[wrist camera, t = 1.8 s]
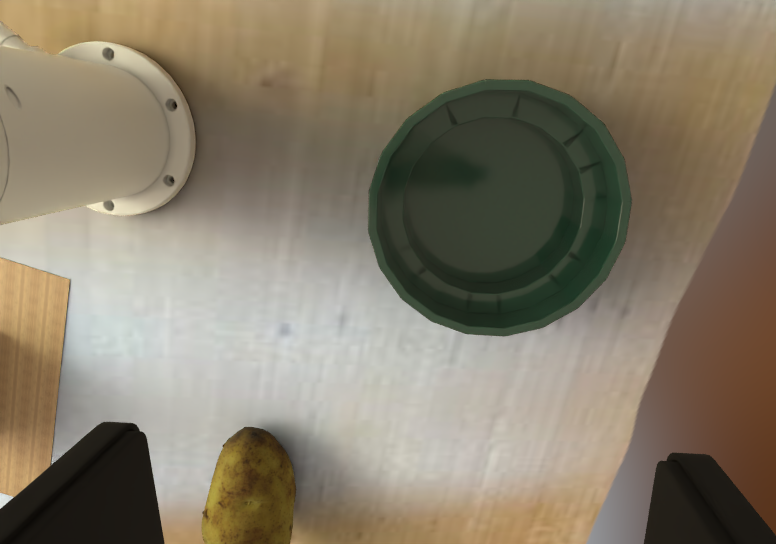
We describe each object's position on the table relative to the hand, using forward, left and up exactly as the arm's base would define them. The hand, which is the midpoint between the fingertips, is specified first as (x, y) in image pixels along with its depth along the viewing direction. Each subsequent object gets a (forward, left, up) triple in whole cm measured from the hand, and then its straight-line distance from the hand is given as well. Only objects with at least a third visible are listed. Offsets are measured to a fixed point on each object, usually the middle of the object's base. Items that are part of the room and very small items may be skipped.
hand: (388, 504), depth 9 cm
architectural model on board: (-22, -38, -30) cm, 54 cm away
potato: (+5, -28, -30) cm, 42 cm away
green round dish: (+3, +4, -30) cm, 31 cm away
